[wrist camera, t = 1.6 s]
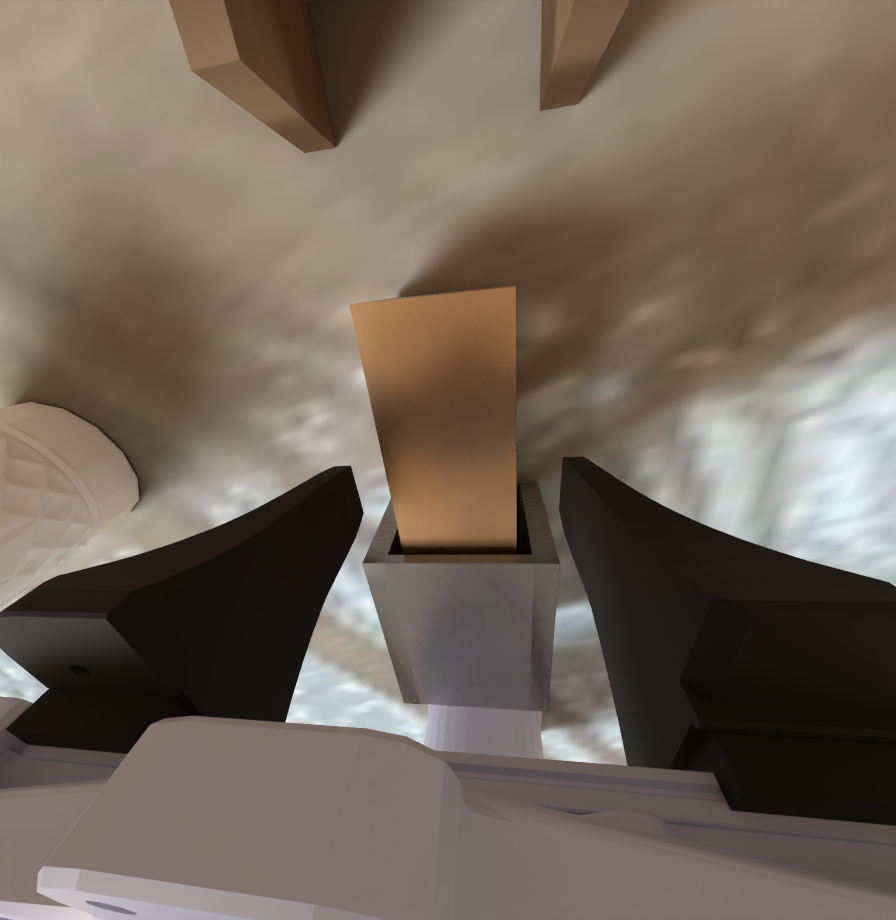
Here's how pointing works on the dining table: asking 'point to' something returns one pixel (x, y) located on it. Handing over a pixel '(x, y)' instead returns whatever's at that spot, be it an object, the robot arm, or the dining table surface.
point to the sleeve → (470, 616)
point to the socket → (298, 71)
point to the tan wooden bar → (446, 415)
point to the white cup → (54, 491)
